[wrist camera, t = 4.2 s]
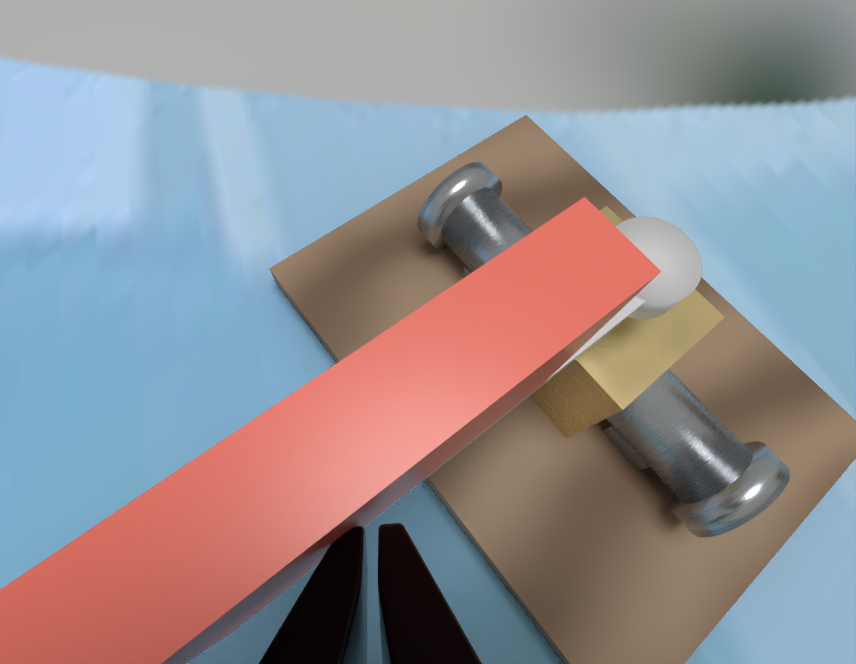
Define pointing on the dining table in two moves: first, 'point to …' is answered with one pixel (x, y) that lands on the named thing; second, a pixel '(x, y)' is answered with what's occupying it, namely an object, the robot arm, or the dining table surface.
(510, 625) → the dining table surface
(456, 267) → the mounting board
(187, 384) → the dining table surface
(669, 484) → the ball valve
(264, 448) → the valve lever
